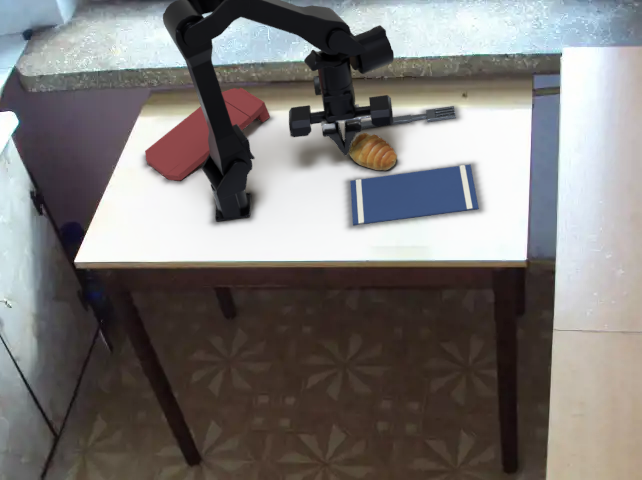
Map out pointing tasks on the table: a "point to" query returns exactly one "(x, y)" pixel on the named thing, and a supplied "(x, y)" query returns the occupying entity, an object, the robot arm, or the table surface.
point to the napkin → (413, 194)
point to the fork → (420, 116)
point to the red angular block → (200, 135)
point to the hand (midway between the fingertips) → (345, 153)
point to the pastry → (372, 152)
